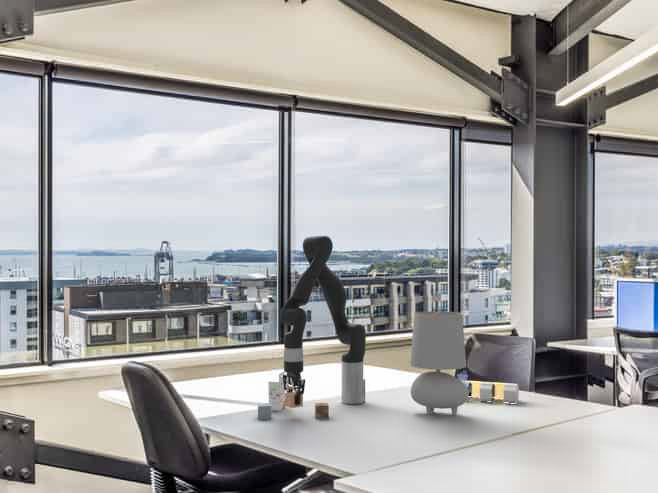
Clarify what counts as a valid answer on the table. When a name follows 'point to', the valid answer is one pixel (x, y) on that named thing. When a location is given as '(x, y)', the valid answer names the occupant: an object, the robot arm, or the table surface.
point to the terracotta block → (292, 400)
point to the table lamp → (438, 360)
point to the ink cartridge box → (277, 393)
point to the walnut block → (321, 410)
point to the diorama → (491, 390)
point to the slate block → (264, 411)
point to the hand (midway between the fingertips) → (293, 403)
